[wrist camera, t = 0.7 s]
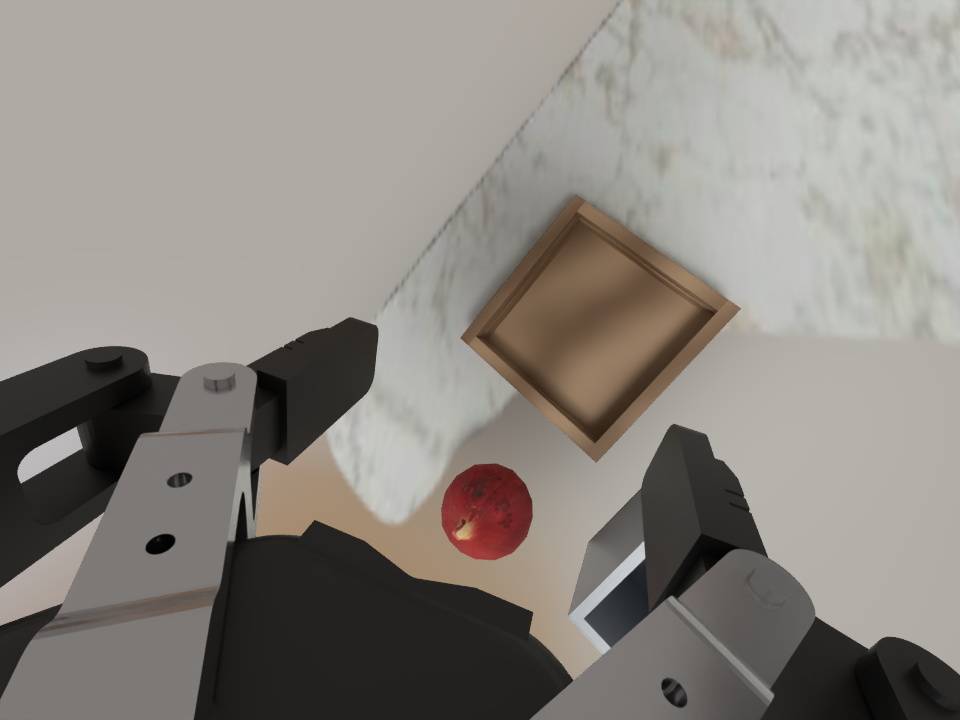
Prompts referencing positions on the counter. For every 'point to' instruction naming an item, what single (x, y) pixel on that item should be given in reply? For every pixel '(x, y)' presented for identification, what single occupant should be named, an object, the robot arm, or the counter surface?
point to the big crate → (595, 326)
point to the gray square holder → (613, 580)
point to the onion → (487, 511)
